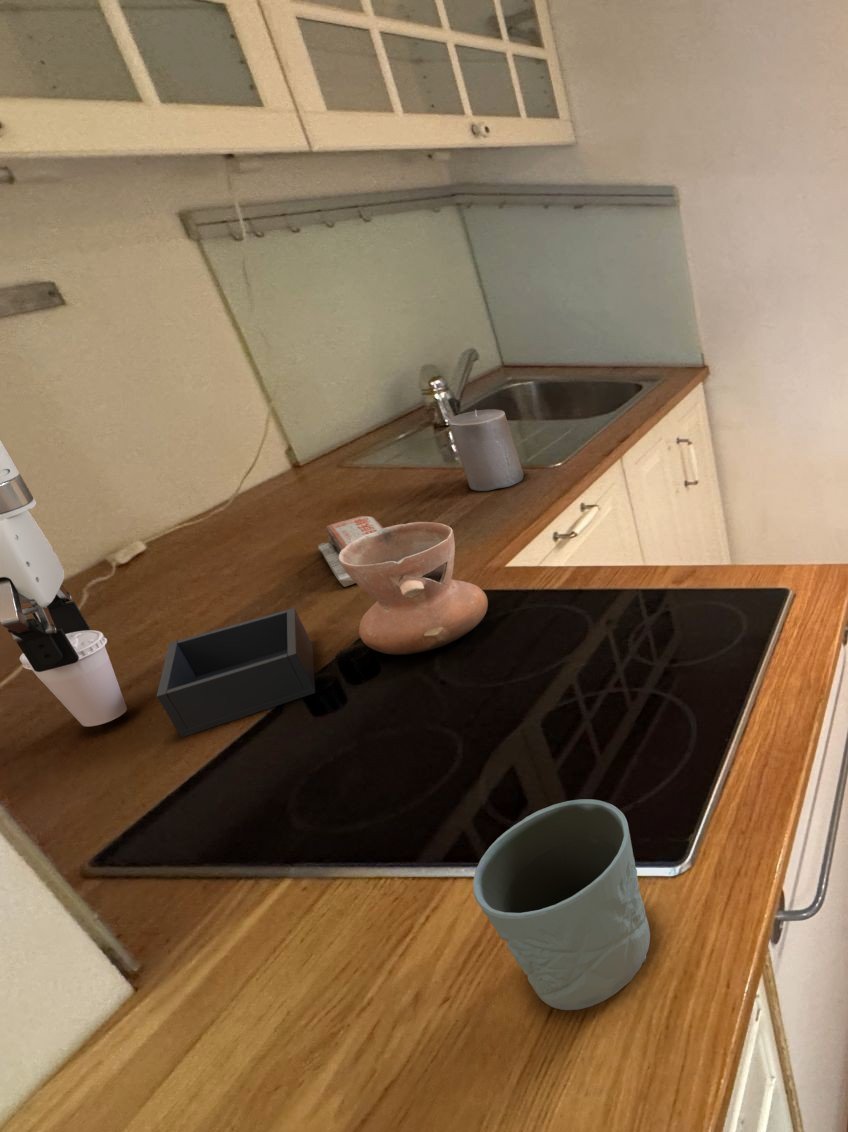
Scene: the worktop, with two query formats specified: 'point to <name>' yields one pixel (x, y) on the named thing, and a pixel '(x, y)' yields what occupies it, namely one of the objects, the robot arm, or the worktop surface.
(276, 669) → the bin
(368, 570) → the pink clay vessel
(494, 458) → the pillar candle
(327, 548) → the packaged product
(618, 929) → the embossed green plant pot
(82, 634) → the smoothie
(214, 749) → the worktop surface
